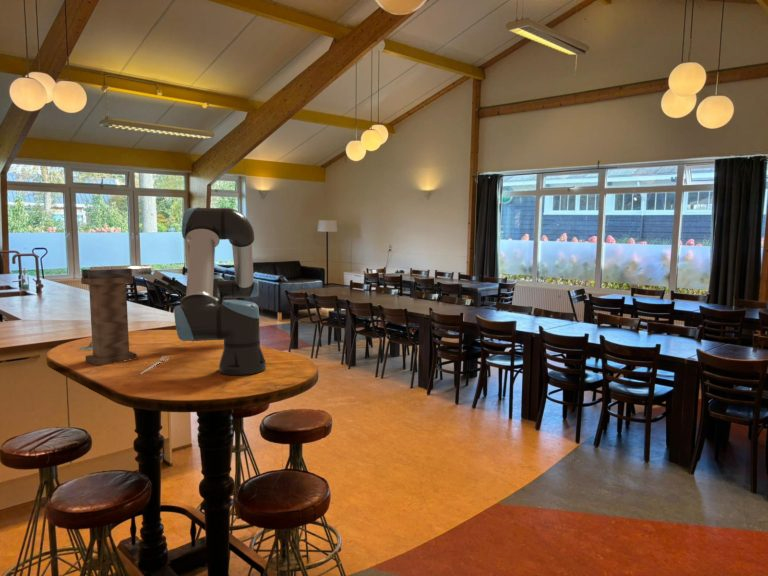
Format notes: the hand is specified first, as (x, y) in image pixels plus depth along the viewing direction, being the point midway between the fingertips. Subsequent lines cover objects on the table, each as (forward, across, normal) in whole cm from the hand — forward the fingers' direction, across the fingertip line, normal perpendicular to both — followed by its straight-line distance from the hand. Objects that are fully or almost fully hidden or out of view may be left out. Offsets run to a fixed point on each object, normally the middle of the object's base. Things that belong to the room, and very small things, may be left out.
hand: (146, 272), depth 199 cm
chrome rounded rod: (+7, -1, -6) cm, 9 cm away
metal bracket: (-9, +25, -31) cm, 41 cm away
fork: (-10, -21, -31) cm, 39 cm away
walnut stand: (-4, -1, -34) cm, 34 cm away
